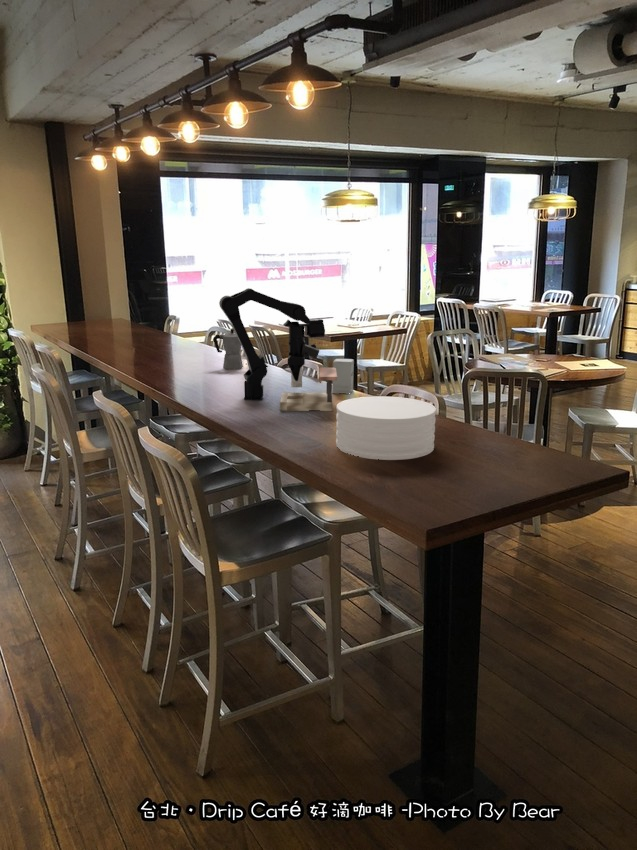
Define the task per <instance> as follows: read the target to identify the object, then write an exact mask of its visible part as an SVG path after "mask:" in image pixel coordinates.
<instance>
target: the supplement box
mask: <svg viewBox="0 0 637 850" xmlns="http://www.w3.org/2000/svg"><path fill="white" fill-rule="evenodd" d="M354 364H355V361H354V359H352V358H335V359H334V360H333V361H332V368H336V373H337V380H332V394H339V393H346V394H345V395H351V393H352V392H353V391H354V369H355V368H354V367H355V366H354ZM349 393H350V394H349Z"/></svg>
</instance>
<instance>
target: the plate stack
mask: <svg viewBox="0 0 637 850" xmlns="http://www.w3.org/2000/svg"><path fill="white" fill-rule="evenodd" d="M436 414H437V408H436V406H434V405H433V404H431V403H429V402H426V401H424V400H420V399H415V398H409V397H408V398H407V397H401V396H382V395H381V396H380V395H379V396H378V395H377V396H362V397H360V396H359V397H353V398H348V399H345V400H342V401H340V402H339V403H337V404H336V416H335V417H336V425H335V427H336V430H335V431H336V433H335V437H336V439H335V446H336V448H337V447H338V448H339V449H340V450H339V449H338V448H337V449H338V450H339V451H341V452H343V453H345V454H347V453H348V454H347V455H350V454H351V455H350V456H353V455H354V456H355V457H357V456H359V457H358V458H363V459H370V460H378V459H379V460H383V461H384V460H385V461H398V460H399V461H400V460H403V461H404V460H410V459H417V458H421V457H424V456H427V455H429V454H431V453H432V452H433V451H434V449H435V442H434V441H435V437H436V436H435V432H436V426H435V424H436Z"/></svg>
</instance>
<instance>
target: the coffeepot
mask: <svg viewBox="0 0 637 850" xmlns="http://www.w3.org/2000/svg"><path fill="white" fill-rule="evenodd" d="M218 340H222V344H223V349H224V350H225V353H224V359H223V365H222V368H223V370H224V369H225V370H229V369H236V370H241V368H242V367H244V364H243V360H242V355H241V350H242V346H241V343H240V341H239V339H238V337H237V335H236V333H235V330H234V328H232V329H230V333H227V334H215V335H214V337H213V338H212V341H213V344H214V346H215V348H216V352H217V353H220V354H221V353H223V350H221V349H220V346H219V343H218ZM242 369H243V368H242Z"/></svg>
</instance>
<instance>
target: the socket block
mask: <svg viewBox="0 0 637 850" xmlns="http://www.w3.org/2000/svg"><path fill="white" fill-rule="evenodd" d="M318 379H319V381H318V382H319V384H322V381H326V392H282V393H281V398H280V403H279V407H280V408H279V409H280V410H279V411H280V412H290V411H291V412H310V411H309V410H320V411H319V412H333V393H332V386H333V380H337V373H336V368H333V367H319V368H318Z"/></svg>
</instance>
